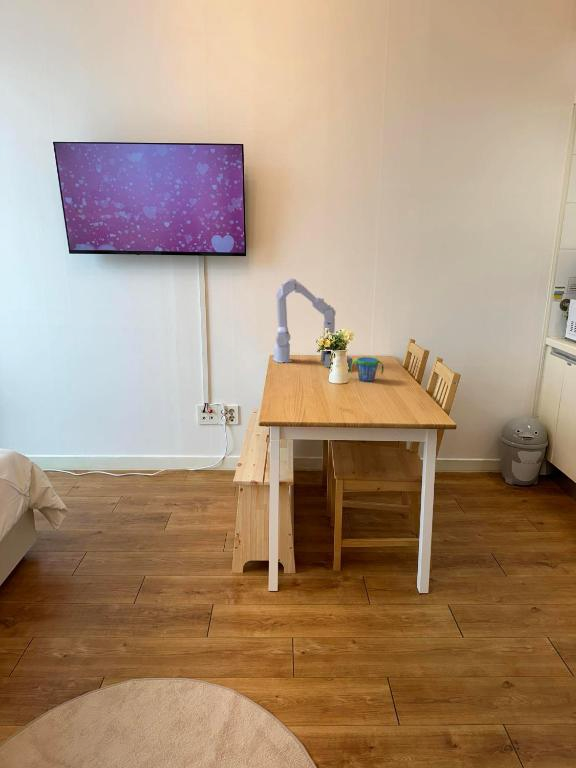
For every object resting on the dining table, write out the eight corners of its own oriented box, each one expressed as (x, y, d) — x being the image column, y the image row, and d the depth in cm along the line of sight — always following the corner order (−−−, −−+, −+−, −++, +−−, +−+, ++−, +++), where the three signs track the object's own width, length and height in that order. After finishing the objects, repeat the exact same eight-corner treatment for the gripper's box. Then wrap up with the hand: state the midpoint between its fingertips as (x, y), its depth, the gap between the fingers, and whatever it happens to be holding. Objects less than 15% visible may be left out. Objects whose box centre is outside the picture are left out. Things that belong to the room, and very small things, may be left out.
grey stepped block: (318, 361, 300) (319, 351, 298) (334, 360, 305) (335, 349, 303) (334, 371, 286) (335, 360, 284) (351, 369, 291) (352, 358, 289)
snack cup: (349, 381, 267) (351, 361, 265) (350, 376, 277) (351, 356, 275) (383, 383, 265) (384, 362, 263) (382, 378, 275) (383, 357, 273)
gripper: (342, 332, 292) (341, 358, 296) (328, 328, 305) (327, 352, 308) (331, 333, 289) (330, 359, 293) (317, 328, 302) (316, 353, 305)
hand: (327, 355), depth 300 cm, fingers closed on grey stepped block, 2 cm apart
